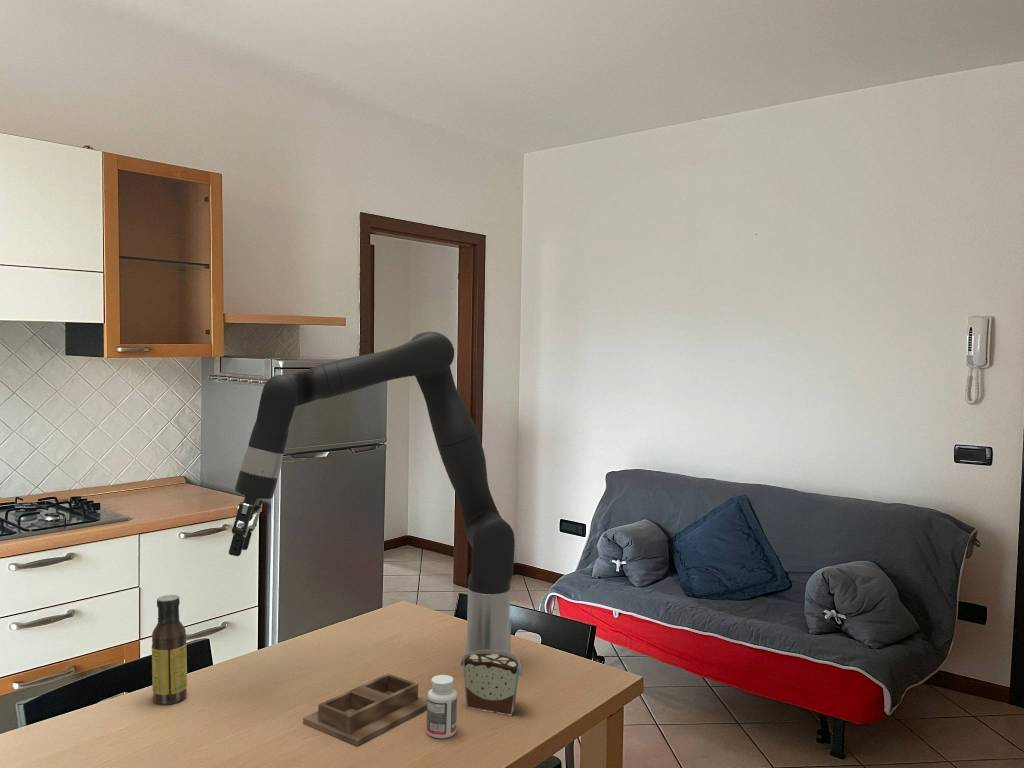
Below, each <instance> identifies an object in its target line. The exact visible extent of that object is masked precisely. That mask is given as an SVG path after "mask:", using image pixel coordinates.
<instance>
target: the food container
mask: <svg viewBox="0 0 1024 768" xmlns="http://www.w3.org/2000/svg"><path fill="white" fill-rule="evenodd" d="M459 665H460V667H462V666H463V667H462V668H463V679H464V680H463V681H464V691H465V706H466V707H467V708H466V709H470V708H474V709H473V710H476V709H480V710H479V711H481V710H486V711H492V712H498V713H499V712H500V713H503V714H511V715H512V714H513V715H514V713H513V712H514V711H515V704H516V696H517V689H518V680H519V677H521V676H522V674H523V670H522V669H523V668H522V664H521V661H520V659H519V657H518V656H517V655H515V654H514V653H512V652H510V653H508V652H505V651H499V650H478V651H474V652H470V653H467V654H466V653H465V654H463V656H462V658H461V662H460V664H459ZM486 711H485V712H486ZM492 712H491V713H492ZM503 714H502V715H503ZM513 715H512V716H513Z"/></svg>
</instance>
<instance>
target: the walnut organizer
mask: <svg viewBox="0 0 1024 768" xmlns="http://www.w3.org/2000/svg"><path fill="white" fill-rule="evenodd" d="M317 705H318V709H317V710H318V711H315V712H313V713H311V714H309V715H306V716H304V717H302V724H304V725H306V726H308V727H310V728H313V729H315V730H318V731H320V732H322V733H324V734H326V735H330V736H332V737H334V738H336V739H339V740H341V741H344V742H346V743H348V744H350V745H354V747H355V746H356V747H359V746H361V745H363V744H365V743H367V742H368V741H370V740H372V739H374V738H376V737H378V736H380V735H382V734H384V733H385V732H387V731H389V730H391V729H393V728H395V727H397V726H398V725H401V724H402V723H405V722H407V721H408V720H410V719H412V718H414V717H416V716H418V715H419V714H421V713H424V712H425V711H427V698H425V697H424V698H423V697H421V696H419V683H416V682H413V681H411V680H408V679H405V678H402V677H399V676H396V675H393V674H391V673H390V674H389V673H386V674H384V675H382V676H380V677H377V678H375V679H372V680H370V681H367V682H365V683H364V684H361V685H359V686H357V687H355V688H352V689H349V690H348V691H346V692H343V693H340V694H339V695H336V696H333V697H332V698H330V699H327V700H326V701H323V702H320V703H318V704H317Z"/></svg>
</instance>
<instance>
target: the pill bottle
mask: <svg viewBox="0 0 1024 768" xmlns="http://www.w3.org/2000/svg"><path fill="white" fill-rule="evenodd" d="M454 685H455V684H454V677H452V676H451V675H447V674H437V675H434V676H433V677H432V678H431V682H430V687H431V688H430V689H429V690H428V692H427V695H426V699H427V710H426V734H427V735H428V736H430V737H432V738H435V739H447V738H450V737H452V736H454V735H455V734H456V732H457V719H458V718H457V713H458V712H457V709H458V693H457V690H455V688H454Z"/></svg>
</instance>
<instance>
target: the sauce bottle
mask: <svg viewBox="0 0 1024 768" xmlns="http://www.w3.org/2000/svg"><path fill="white" fill-rule="evenodd" d="M180 604H181V602H180V596H179V595H177V594H167V595H163V596H159V597H157V599H156V607H157V612H158V613H157V624H156V626H155V628H154V629H153V631H152V633H151V642H152V643H151V667H152V668H151V674H152V675H151V677H152V681H151V682H152V683H151V684H152V687H151V688H152V693H153V696H152V699H153V702H155V703H156V704H157V705H161V706H162V705H171V704H172V705H174V704H177V703H178V702H180V701H183V700H184V699H185V698H186V697H187V695H188V691H187V690H188V689H187V687H188V665H187V664H188V663H187V662H188V661H187V658H188V655H187V651H188V650H187V637H186V636H187V635H186V634H187V632H186V627H185V626H184V625H183V624H182V622H181V621H180V612H179V611H180V609H179V608H180Z"/></svg>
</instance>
